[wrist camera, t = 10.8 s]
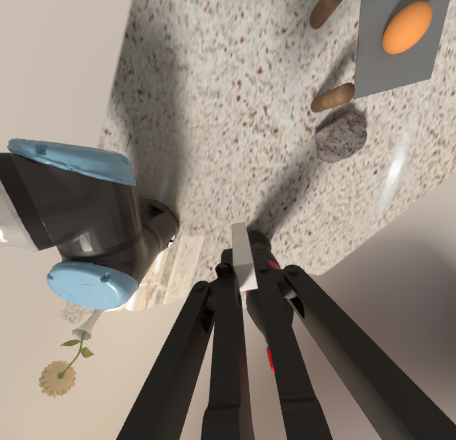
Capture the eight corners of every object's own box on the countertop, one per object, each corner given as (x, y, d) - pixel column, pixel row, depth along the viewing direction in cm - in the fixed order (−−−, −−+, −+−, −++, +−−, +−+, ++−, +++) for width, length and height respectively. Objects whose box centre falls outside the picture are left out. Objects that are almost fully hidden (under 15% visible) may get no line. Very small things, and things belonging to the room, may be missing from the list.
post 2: (310, 114, 34) (336, 105, 26) (310, 99, 33) (337, 85, 25) (323, 110, 33) (354, 100, 25) (324, 95, 32) (355, 80, 24)
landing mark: (353, 99, 33) (353, 99, 32) (361, -2, 27) (362, -3, 26) (429, 78, 31) (430, 78, 31) (456, -34, 25) (457, -35, 25)
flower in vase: (89, 284, 55) (-6, 381, 33) (119, 278, 54) (42, 375, 32) (109, 308, 61) (40, 406, 38) (137, 304, 60) (82, 402, 37)
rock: (306, 136, 36) (315, 136, 32) (356, 103, 33) (372, 98, 30) (320, 170, 39) (330, 173, 35) (367, 142, 36) (382, 143, 33)
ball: (427, 43, 27) (382, 61, 31) (437, -5, 25) (387, 21, 29) (426, 40, 24) (377, 60, 28) (437, -16, 22) (381, 15, 26)
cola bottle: (235, 248, 49) (243, 381, 22) (245, 224, 45) (271, 348, 18) (261, 255, 50) (299, 390, 23) (273, 233, 46) (335, 361, 19)
